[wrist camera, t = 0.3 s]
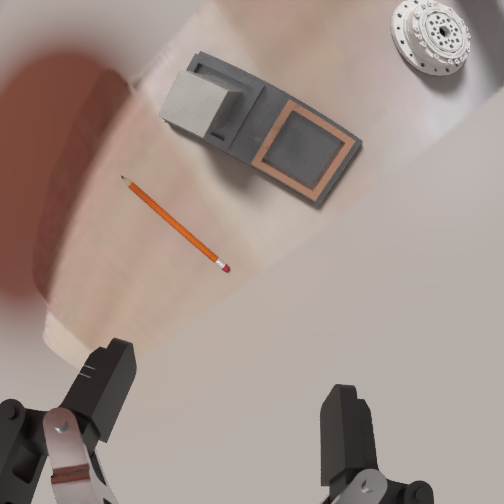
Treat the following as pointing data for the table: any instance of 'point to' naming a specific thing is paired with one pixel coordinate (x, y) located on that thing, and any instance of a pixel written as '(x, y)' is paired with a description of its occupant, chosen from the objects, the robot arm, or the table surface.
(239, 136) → the double frame tray
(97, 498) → the robot arm
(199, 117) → the block
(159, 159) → the table surface
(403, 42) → the mechanical component
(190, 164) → the table surface
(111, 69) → the table surface
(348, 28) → the table surface
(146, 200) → the pencil
